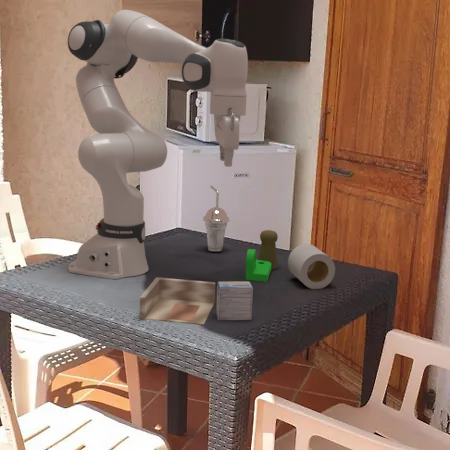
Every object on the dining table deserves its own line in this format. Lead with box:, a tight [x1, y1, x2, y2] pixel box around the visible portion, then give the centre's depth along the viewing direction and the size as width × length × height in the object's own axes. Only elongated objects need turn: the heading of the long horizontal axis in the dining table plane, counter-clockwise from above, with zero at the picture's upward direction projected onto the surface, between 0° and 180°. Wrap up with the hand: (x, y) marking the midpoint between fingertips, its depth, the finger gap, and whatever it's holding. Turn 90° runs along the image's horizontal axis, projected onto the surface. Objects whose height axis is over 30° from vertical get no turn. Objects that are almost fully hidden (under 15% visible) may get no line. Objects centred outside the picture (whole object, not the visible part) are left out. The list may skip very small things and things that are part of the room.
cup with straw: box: [202, 185, 230, 252], centre depth 213 cm, size 8×9×20 cm
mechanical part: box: [244, 248, 272, 283], centre depth 190 cm, size 12×6×8 cm, turn 169°
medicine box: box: [215, 280, 254, 321], centre depth 156 cm, size 8×4×9 cm, turn 98°
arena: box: [139, 276, 216, 326], centre depth 159 cm, size 15×15×6 cm
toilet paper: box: [287, 243, 336, 290], centre depth 184 cm, size 10×10×10 cm
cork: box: [257, 229, 279, 271], centre depth 198 cm, size 6×6×11 cm
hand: (225, 163), depth 167 cm, fingers open, 8 cm apart
